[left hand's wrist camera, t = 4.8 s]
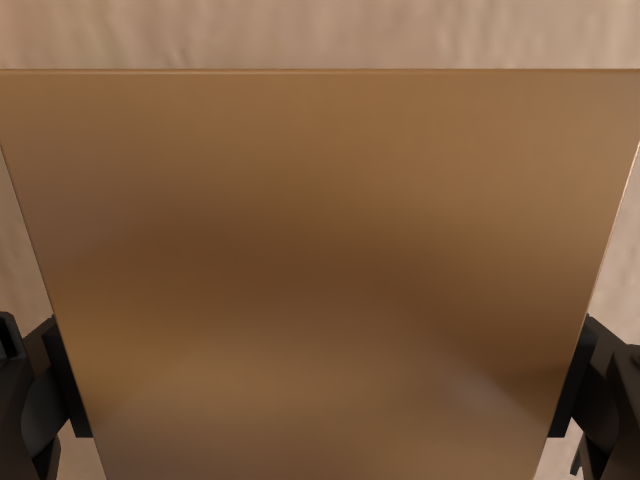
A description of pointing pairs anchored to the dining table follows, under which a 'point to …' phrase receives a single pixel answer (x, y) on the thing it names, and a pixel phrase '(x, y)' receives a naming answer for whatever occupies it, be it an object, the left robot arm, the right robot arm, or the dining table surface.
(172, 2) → the dining table surface
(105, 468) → the wide beam
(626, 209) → the dining table surface
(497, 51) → the dining table surface
